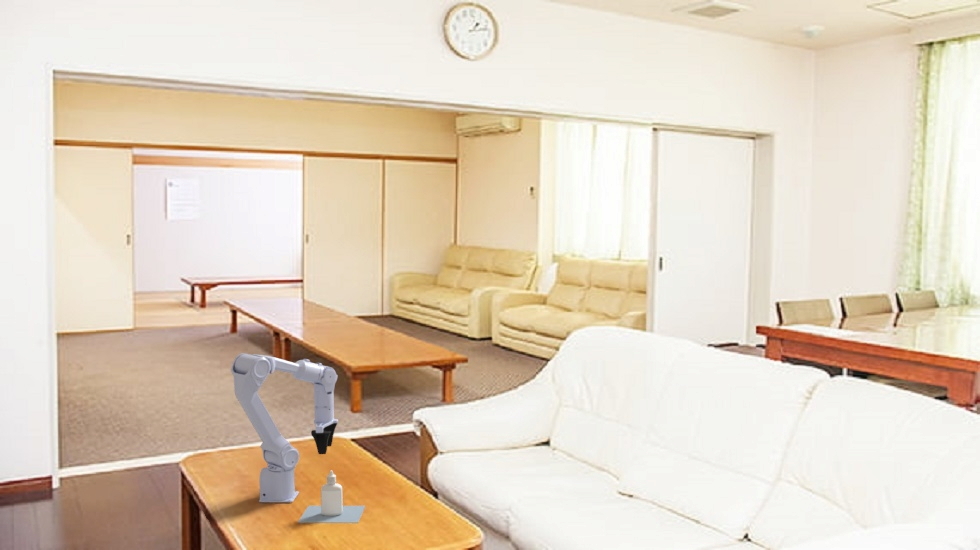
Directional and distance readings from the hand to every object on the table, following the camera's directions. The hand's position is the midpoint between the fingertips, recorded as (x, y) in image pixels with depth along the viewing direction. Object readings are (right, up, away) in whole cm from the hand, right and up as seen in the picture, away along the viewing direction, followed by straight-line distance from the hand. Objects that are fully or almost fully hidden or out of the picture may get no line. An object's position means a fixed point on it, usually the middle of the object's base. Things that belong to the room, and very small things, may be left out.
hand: (325, 449), depth 244 cm
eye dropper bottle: (+7, -13, -23) cm, 27 cm away
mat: (+7, -13, -23) cm, 27 cm away
